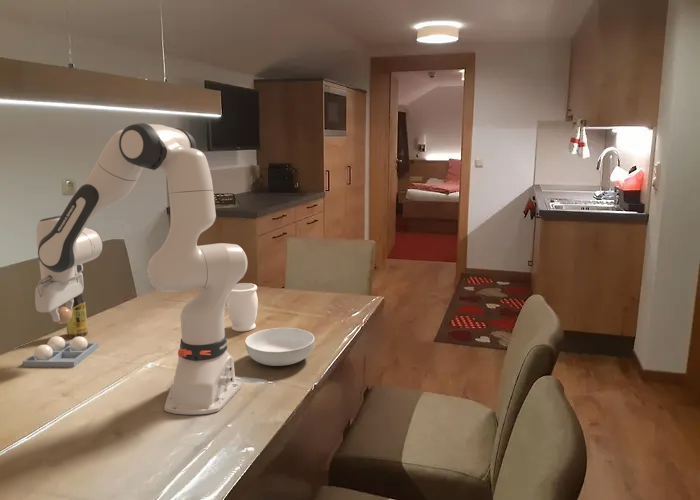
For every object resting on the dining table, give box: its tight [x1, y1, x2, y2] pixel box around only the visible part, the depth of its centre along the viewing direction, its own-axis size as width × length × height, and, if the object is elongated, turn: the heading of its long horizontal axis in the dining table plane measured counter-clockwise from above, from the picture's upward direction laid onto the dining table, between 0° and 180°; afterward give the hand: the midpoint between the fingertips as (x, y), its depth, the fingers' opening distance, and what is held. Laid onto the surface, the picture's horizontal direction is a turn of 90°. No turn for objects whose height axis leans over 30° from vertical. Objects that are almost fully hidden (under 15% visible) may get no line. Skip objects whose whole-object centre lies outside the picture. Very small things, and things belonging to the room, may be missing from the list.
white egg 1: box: [33, 344, 53, 360], centre depth 170 cm, size 5×5×5 cm
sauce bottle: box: [64, 293, 89, 339], centre depth 190 cm, size 7×6×20 cm
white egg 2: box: [46, 335, 66, 351], centre depth 177 cm, size 5×5×5 cm
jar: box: [226, 282, 259, 332], centre depth 198 cm, size 11×10×15 cm
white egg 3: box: [70, 336, 88, 351], centre depth 176 cm, size 5×5×5 cm
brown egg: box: [56, 306, 72, 325], centre depth 167 cm, size 5×5×5 cm
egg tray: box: [22, 341, 99, 368], centre depth 173 cm, size 15×15×2 cm
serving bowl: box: [244, 327, 316, 367], centre depth 172 cm, size 21×21×7 cm
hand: (63, 317), depth 167 cm, fingers closed on brown egg, 5 cm apart
